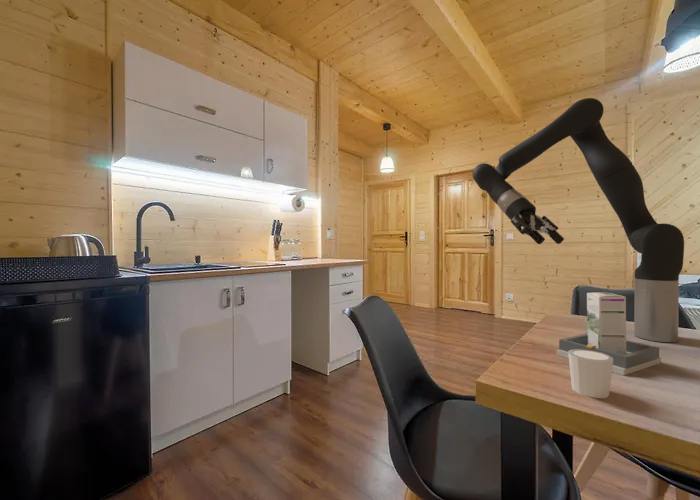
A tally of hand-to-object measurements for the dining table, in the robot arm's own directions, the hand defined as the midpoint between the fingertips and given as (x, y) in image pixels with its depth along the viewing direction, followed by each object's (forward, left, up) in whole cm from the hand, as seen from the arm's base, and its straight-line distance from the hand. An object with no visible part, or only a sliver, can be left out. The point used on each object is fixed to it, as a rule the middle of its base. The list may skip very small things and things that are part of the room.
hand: (551, 241), depth 90 cm
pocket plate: (+2, +15, -28) cm, 32 cm away
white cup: (+24, +23, -29) cm, 44 cm away
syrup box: (+2, +14, -27) cm, 31 cm away
